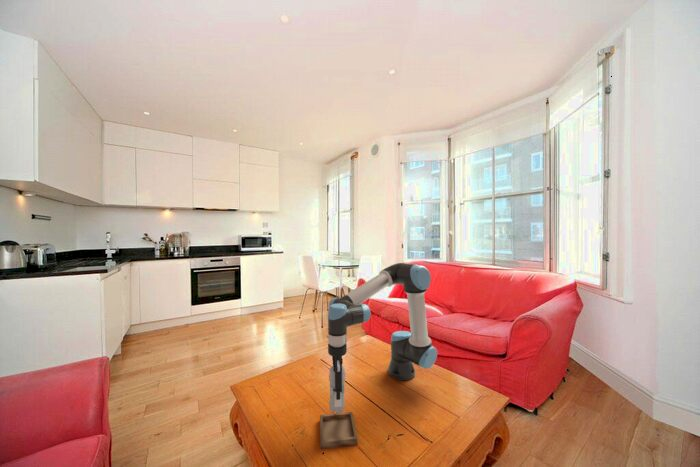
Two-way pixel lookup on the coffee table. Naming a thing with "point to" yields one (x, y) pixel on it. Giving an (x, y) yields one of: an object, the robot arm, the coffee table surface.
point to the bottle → (332, 393)
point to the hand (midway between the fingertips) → (337, 400)
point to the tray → (337, 430)
